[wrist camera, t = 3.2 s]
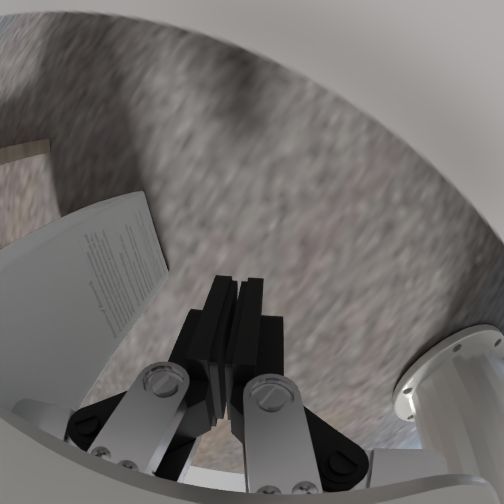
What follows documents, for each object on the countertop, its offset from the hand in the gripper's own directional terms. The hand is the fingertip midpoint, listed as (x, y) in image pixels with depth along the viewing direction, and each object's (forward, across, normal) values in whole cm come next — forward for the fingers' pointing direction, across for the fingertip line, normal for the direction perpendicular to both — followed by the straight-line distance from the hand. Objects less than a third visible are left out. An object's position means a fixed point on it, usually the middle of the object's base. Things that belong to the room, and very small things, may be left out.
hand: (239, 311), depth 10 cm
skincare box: (+7, +10, +1) cm, 12 cm away
